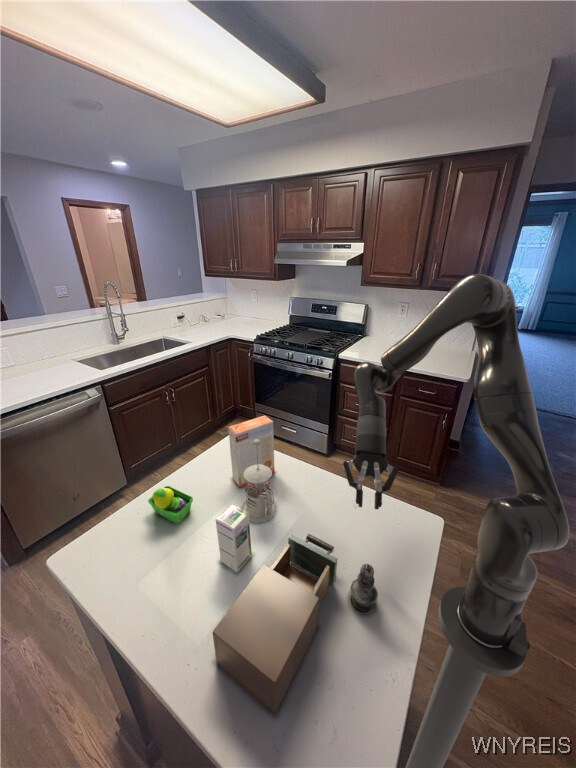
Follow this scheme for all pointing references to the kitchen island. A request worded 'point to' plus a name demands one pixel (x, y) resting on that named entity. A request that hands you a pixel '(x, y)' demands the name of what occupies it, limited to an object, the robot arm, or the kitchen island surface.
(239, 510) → the syrup box
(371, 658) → the kitchen island surface
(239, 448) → the cracker box
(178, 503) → the fruit basket
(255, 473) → the french press
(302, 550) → the drawer
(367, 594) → the stone chess piece
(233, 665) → the cabinet
